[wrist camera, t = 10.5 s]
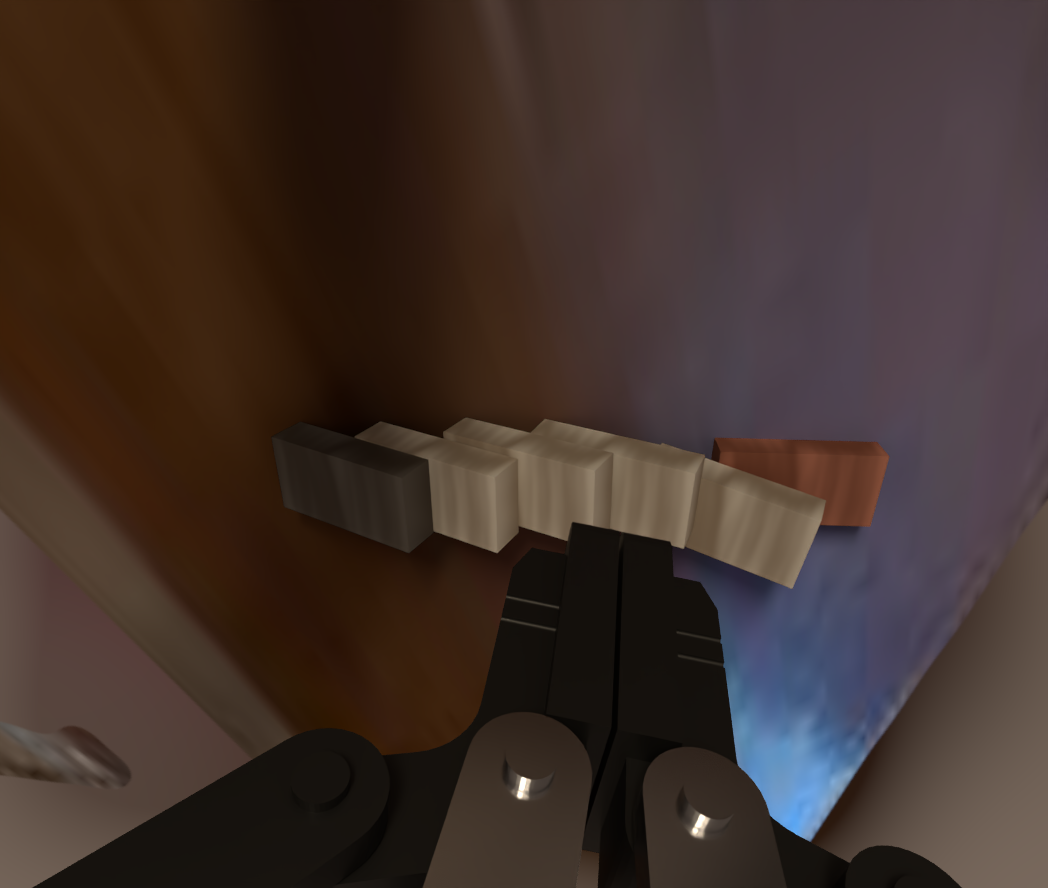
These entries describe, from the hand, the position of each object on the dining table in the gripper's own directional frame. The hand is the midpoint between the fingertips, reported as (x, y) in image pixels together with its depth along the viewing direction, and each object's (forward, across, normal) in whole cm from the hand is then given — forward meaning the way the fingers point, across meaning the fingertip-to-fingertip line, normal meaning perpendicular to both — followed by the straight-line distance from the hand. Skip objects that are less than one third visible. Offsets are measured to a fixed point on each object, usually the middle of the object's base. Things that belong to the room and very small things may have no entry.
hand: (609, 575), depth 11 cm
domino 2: (+29, -12, -19) cm, 37 cm away
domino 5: (+30, +5, -17) cm, 35 cm away
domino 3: (+29, -7, -18) cm, 35 cm away
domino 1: (+28, -17, -20) cm, 39 cm away
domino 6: (+31, +9, -17) cm, 36 cm away
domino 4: (+30, -2, -17) cm, 34 cm away
